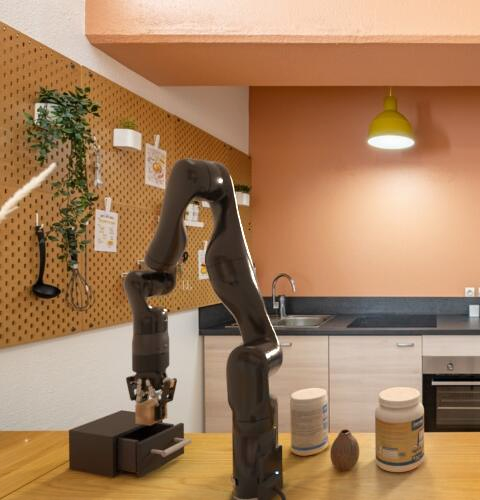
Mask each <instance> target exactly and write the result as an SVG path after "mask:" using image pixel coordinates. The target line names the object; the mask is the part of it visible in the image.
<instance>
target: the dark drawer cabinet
mask: <svg viewBox="0 0 480 500" xmlns="http://www.w3.org/2000/svg"><path fill="white" fill-rule="evenodd" d="M159 422H162V423H164V422H163V420H162V421H159ZM144 426H147V425H142V424H136V420H135V411H130V410H123V409H121V410H118V411H116V412H112V413H111V414H108V415H105V416H103V417H99V418H97V419H94V420H91V421H88V422H86V423H84V424H81V425H79V426H76V427H73V428H71V429H68V469H69V470H72V471H77V472H83V473H88V474H93V475H97V476H102V477H109V478H115V477H117V476H120V475H121V474H124V473H125V472H126V471H123V470H118V469H116V439H117V438H119V437H121V436H124V435H126V434H128V433H131V432H133V431H135V430H138V429H140V428H142V427H144Z"/></svg>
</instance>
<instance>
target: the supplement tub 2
mask: <svg viewBox="0 0 480 500" xmlns="http://www.w3.org/2000/svg"><path fill="white" fill-rule="evenodd" d="M421 400H422V397H421V392H420V391H419V390H418V389H416V388H413V387H408V386H407V387H405V386H399V387H391V388H387V389H384V390H382V391H380V392H379V394H378V401H377V402H378V404H377V406H376V407H375V411H374V416H375V417H374V423H375V424H374V427H375V429H374V430H375V431H374V434H375V435H374V436H375V437H374V438H375V439H374V440H375V441H374V442H375V443H374V444H375V463H376V464H377V466H378V467H379V468H381V469H382V470H385V471H387V472H390V473H404V472H409V471H412V470H415V469H417V468H418V467H420V466H421V464H422V463H423V461H424V459H425V408H424V405H423V404H422V402H421Z"/></svg>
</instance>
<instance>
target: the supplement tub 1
mask: <svg viewBox="0 0 480 500" xmlns="http://www.w3.org/2000/svg"><path fill="white" fill-rule="evenodd" d="M289 410H290V411H289V418H290V423H289V424H290V425H289V426H290V450H291V452H292V453H293V454H295V455H296V456H302V457H303V456H304V457H305V456H312V455H316V454H319V453H320V452H322V451H324V450H325V449H326V448H327V447H328V444H329V417H328V416H329V415H328V394H327V390H325V388H321V387H309V388H308V387H307V388H303V389H298V390H295V391H294V392H292V393H291V395H290V401H289Z"/></svg>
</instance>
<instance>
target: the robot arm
mask: <svg viewBox="0 0 480 500" xmlns="http://www.w3.org/2000/svg"><path fill="white" fill-rule="evenodd" d="M192 202H207V204H208V205H209V209H210V212H211V217H212V231H211V234H210V237H209V240H208V242H207V245H206V249H205V254H204V265H205V269H206V273H207V276H208V279H209V283H210V286H211V288H212V291H213V292H214V294H215V295H216V297H217V299H218V300H219V301H220V302H221V303H222V304H223V306H224V307H225V308H226V309H227V311H228V312H229V313H230V314H231V315H232V317H233V318H234V320H235V321H236V324H237V327H238V329H239V332H240V336H241V340H242V343H241V344H240V345H238V346H236V347H234V348H233V349H232V350H231V351H230V353H229V355H228V357H227V360H226V365H225V380H226V395H227V404H228V406H229V408H230V410H231V433H232V434H231V439H232V440H231V443H232V444H231V446H232V447H231V448H232V450H231V451H232V452H231V453H232V474H230V482H231V484H232V500H271V499H273V497H275V496H276V495H278V496H279V497H280V498H281V500H287V498H286V495H285V493H284V491H283V490H282V489H284V474H283V473H284V471H283V470H284V469H283V468H284V467H283V463H284V462H283V461H284V460H283V459H284V457H283V444H281V443H279V400H278V397H277V396H276V395H274V394H272V393H271V392H270V382H269V381H270V380H269V378H271V377H272V376H274V375H275V374H276V373H277V372H279V370H280V369H281V367H282V365H283V361H284V352H283V348H282V345H281V343H280V340H279V338H278V336H277V334H276V333H277V332H276V331H275V328H274V326H273V324H272V321H271V319H270V316H269V313H268V311H267V308H266V305H265V300H264V298H263V294H262V291H261V288H260V284H259V281H258V277H257V274H256V270H255V267H254V266H255V265H254V263H253V259H252V257H251V254H250V251H249V248H248V244H247V242H246V238H245V234H244V230H243V225H242V223H241V218H240V214H239V209H238V203H237V198H236V193H235V187H234V183H233V179H232V175H231V174H230V171H229V169H228V167H226V165H224V163H221V162H219V161H215V160H208V159H201V158H200V159H198V158H190V157H184V158H180V159H178V160H176V161H175V162H174V164H173V165H172V167H171V169H170V171H169V174H168V177H167V180H166V185H165V189H164V193H163V198H162V203H161V208H160V213H159V218H158V222H157V225H156V229H155V231H154V233H153V236H152V238H151V240H150V242H149V245H148V247H147V250H146V252H145V253H144V255H143V256H144V257H143V262H144V264H145V266H146V267H148V268H149V269H148V268H147V269H133V270H130V271H129V272H128V273H126V274H125V276H124V278H123V281H122V287H123V291H124V294H125V297H126V299H127V302H128V305H129V308H130V311H131V312H130V313H131V317H132V340H131V371H132V372H133V373H135V374H134V375H130V376H126V377H125V382H126V385H127V390H128V395H129V401H131V402H133V401H134V402H135V405H136V404H139V403H141V402H144V401H147V400H149V399H152V398H153V400H154V404H155V407H154V409H155V421H160V420H162V419H164V418H165V415H166V413H165V412H166V403H167V404H168V403H171V402H173V400H174V397H175V392H176V387H177V382H178V378H176V377H174V378H170V377H168V374H167V368H168V367H170V334H169V313H168V309H167V308H166V307H163V306H157V305H156V306H154V305H150V304H149V302H148V301H147V299H149V298H151V299H152V298H161V297H166V296H169V295H170V294H171V293H173V292H174V291H175V289H176V287H177V275H178V268H179V263H180V261H181V259H182V258H183V256H184V254H185V251H186V249H187V247H188V243H189V234H188V233H189V232H188V229H187V227H186V223H185V217H184V216H185V213H186V210H187V208H188V207H189V205H190V204H191V203H192ZM159 396H160V397H159ZM159 399H161V400H159ZM164 420H165V419H164Z"/></svg>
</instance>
